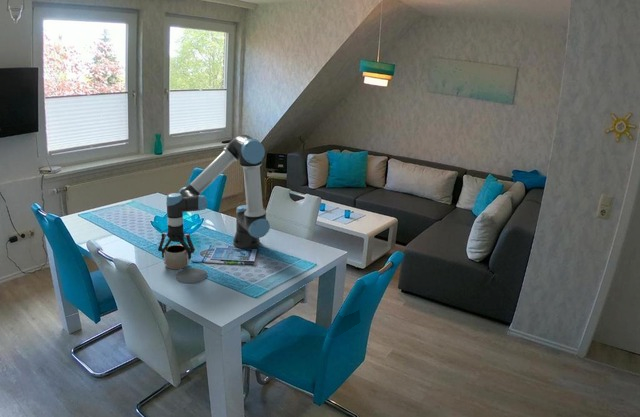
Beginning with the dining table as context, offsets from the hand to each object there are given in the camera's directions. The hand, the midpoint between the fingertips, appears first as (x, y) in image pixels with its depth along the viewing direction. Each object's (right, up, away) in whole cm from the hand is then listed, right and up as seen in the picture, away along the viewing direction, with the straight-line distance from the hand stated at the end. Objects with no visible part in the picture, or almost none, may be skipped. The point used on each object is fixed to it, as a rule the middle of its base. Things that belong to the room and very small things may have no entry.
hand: (177, 263), depth 257 cm
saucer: (+10, -5, -10) cm, 15 cm away
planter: (0, -1, 0) cm, 1 cm away
